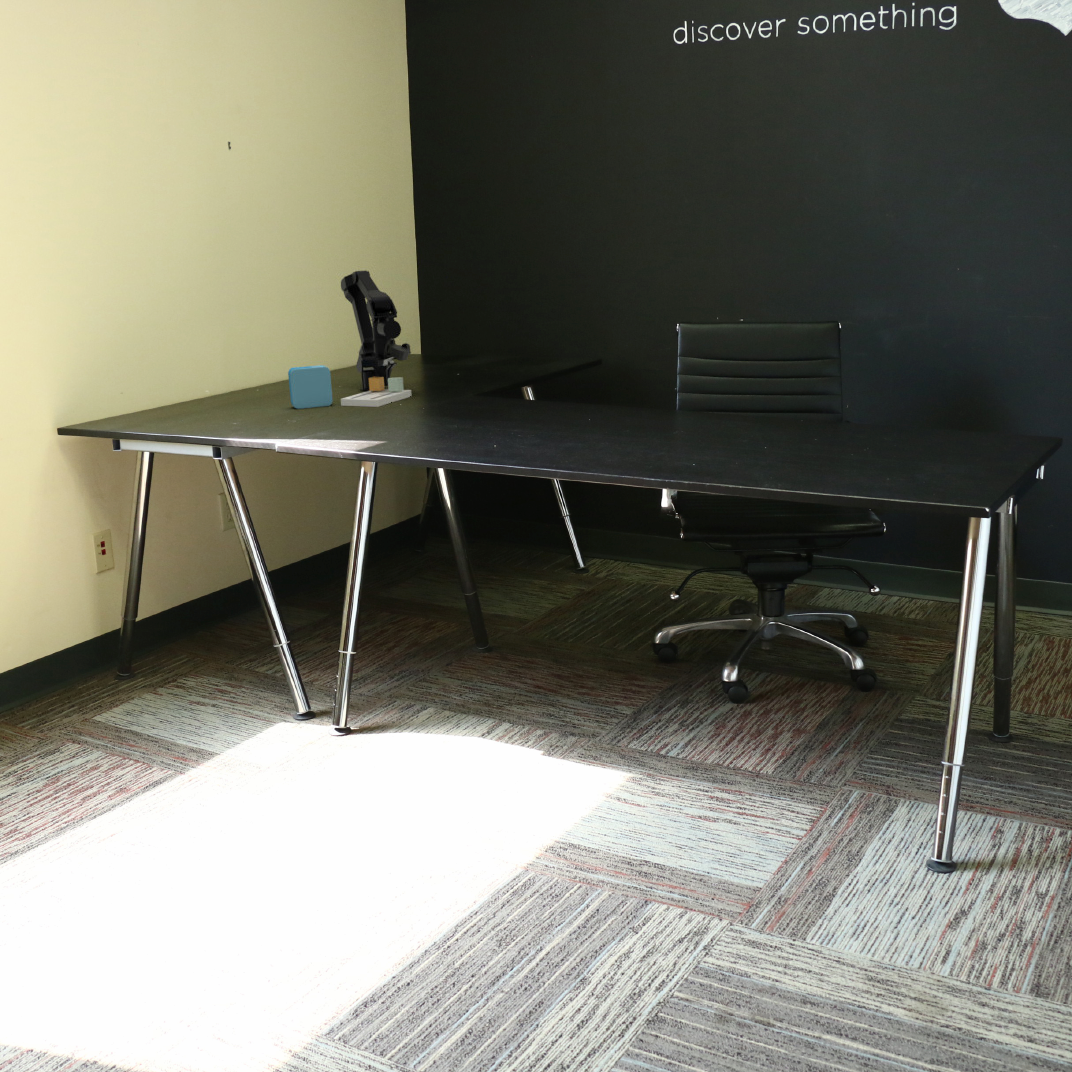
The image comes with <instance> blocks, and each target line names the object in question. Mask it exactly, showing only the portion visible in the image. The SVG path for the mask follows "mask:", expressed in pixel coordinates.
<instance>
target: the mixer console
mask: <svg viewBox="0 0 1072 1072" xmlns="http://www.w3.org/2000/svg"><path fill="white" fill-rule="evenodd" d="M410 396H411V397H412V390H411V389H404V390H403V391H399V392H394V391H389V388H385V389H384V390H381V391H363V392H360V393H357V394H353V395H350V396H346V397H343V398H340V406H341V407H343V406H344V407H345V406H347V407H349V406H350V407H368V408H369V407H372V408H379V407H382V406H386V405H387V404H391V402H392V403H394V402H398V401H401V400H404V399H407V398H411V397H410Z"/></svg>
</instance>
